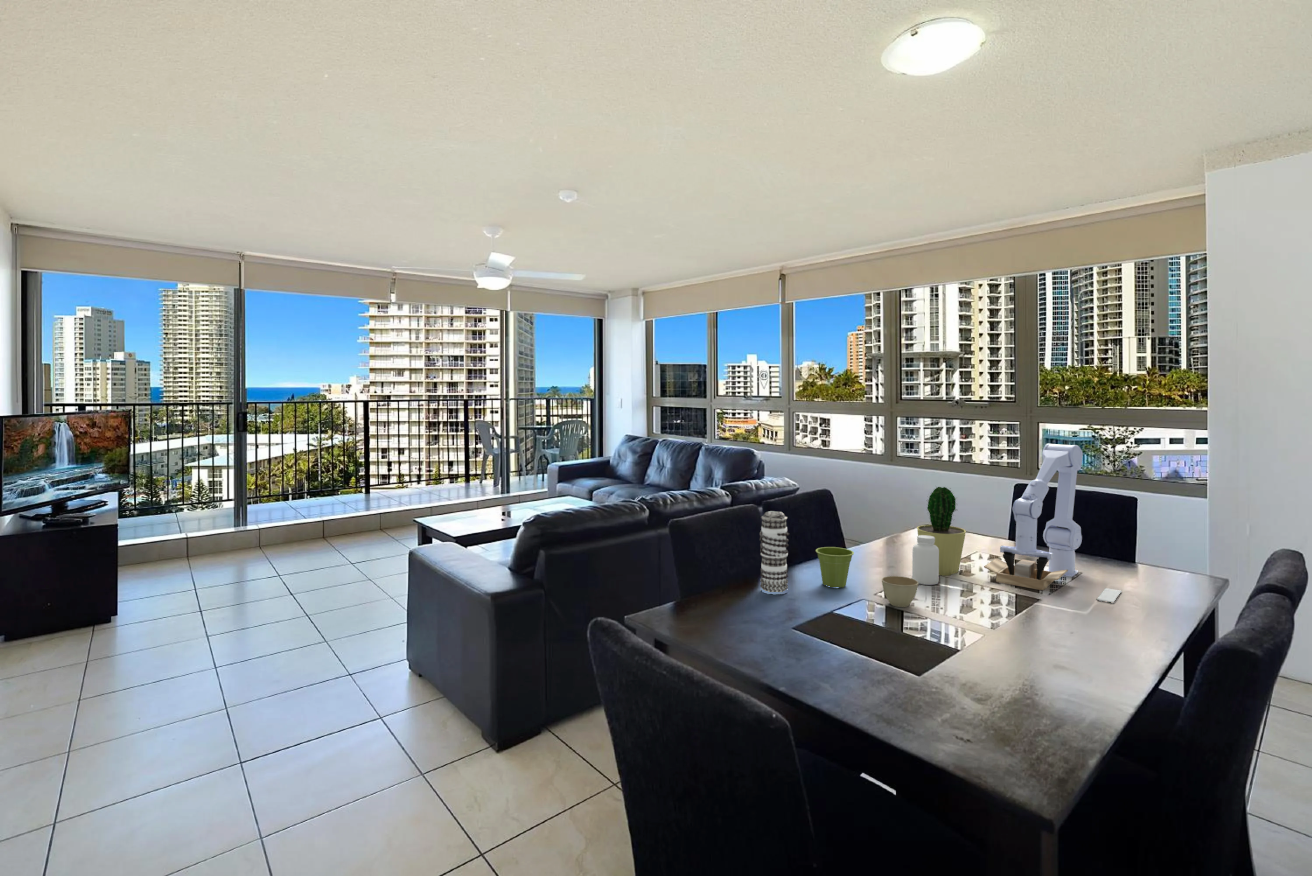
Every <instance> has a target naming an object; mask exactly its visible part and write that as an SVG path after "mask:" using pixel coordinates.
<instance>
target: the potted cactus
mask: <svg viewBox="0 0 1312 876" xmlns="http://www.w3.org/2000/svg"><path fill="white" fill-rule="evenodd" d="M956 500H958V497H956V496H955V495H954V491H952V490H951V489H950V488H947V487H946V486H936V487H935V488H934V489H933V490H932V491H931V493H930V494H929V495H928V496H927V506H926V508H927V509H926V510H927V511H928V512H927V513H926V514H927V515H929V520H930V521H929V522H930V524H922V525H919V526H916V529H917V536H919V535H927V536H933V537H935V542H934V545H936V546H937V547H938V549H939V576H941V575H942V576H943V577H944V576H945V577H950V576H952V575H954V574H958V573H959V571H960V565H961V560H962V555H963V554H962V553H963V550H964V545H965V539H966V538H965V537H966V532H967V531H966V529H964V528H961V527H957V526H953V525H952V520H953V521H954V520H955V519H953V517H954V516H955V517H956V515H954V513H955V512H957V511H958V509H957V503H956V502H957V501H956Z"/></svg>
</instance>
